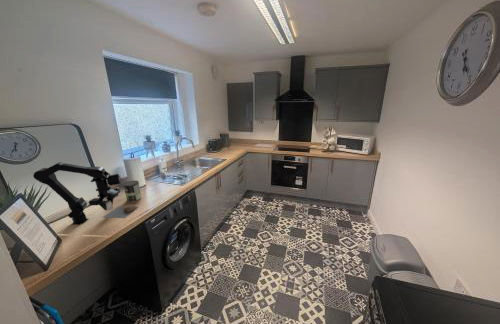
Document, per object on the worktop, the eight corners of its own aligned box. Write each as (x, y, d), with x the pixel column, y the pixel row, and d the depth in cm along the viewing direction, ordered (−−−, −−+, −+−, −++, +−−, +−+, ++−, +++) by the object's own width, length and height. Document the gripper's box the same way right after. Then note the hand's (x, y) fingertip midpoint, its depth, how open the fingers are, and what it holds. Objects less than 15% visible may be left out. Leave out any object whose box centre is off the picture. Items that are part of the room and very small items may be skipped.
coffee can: (129, 204, 142) (125, 186, 138) (125, 199, 149) (121, 183, 145) (144, 199, 149) (140, 182, 145) (139, 195, 156) (136, 179, 152)
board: (102, 218, 125) (102, 217, 125) (118, 207, 138) (118, 206, 138) (125, 218, 123) (125, 217, 123) (139, 207, 137) (138, 206, 136)
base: (121, 212, 130) (120, 209, 129) (128, 207, 137) (128, 203, 136) (131, 212, 129) (130, 209, 129) (137, 207, 136) (137, 204, 135)
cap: (103, 210, 124) (100, 202, 122) (108, 207, 128) (106, 199, 126) (109, 210, 124) (107, 202, 122) (114, 207, 128) (112, 199, 126)
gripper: (102, 193, 111) (108, 216, 116) (124, 180, 129) (129, 201, 134) (84, 192, 113) (92, 215, 117) (109, 180, 130) (115, 201, 135)
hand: (108, 207), depth 126 cm, fingers closed on cap, 4 cm apart
